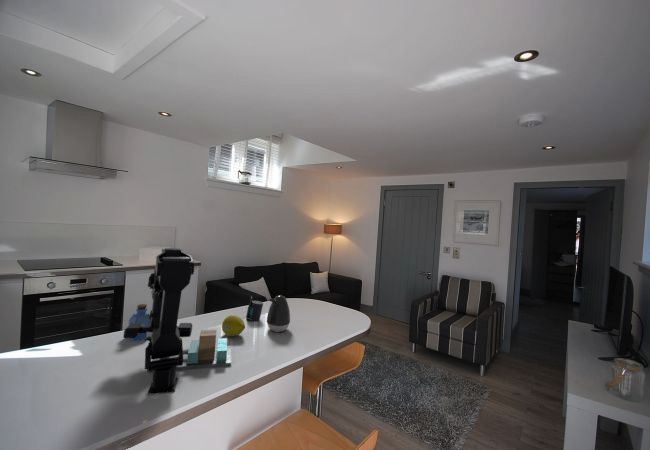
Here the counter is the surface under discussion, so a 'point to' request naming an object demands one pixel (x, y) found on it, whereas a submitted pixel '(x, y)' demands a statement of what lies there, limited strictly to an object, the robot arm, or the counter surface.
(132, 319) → the perfume bottle
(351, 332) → the counter surface
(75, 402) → the counter surface
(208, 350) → the walnut block
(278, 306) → the pump dispenser
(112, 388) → the counter surface
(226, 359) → the vise
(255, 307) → the speaker
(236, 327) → the lemon
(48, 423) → the counter surface
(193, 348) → the vise jaw
